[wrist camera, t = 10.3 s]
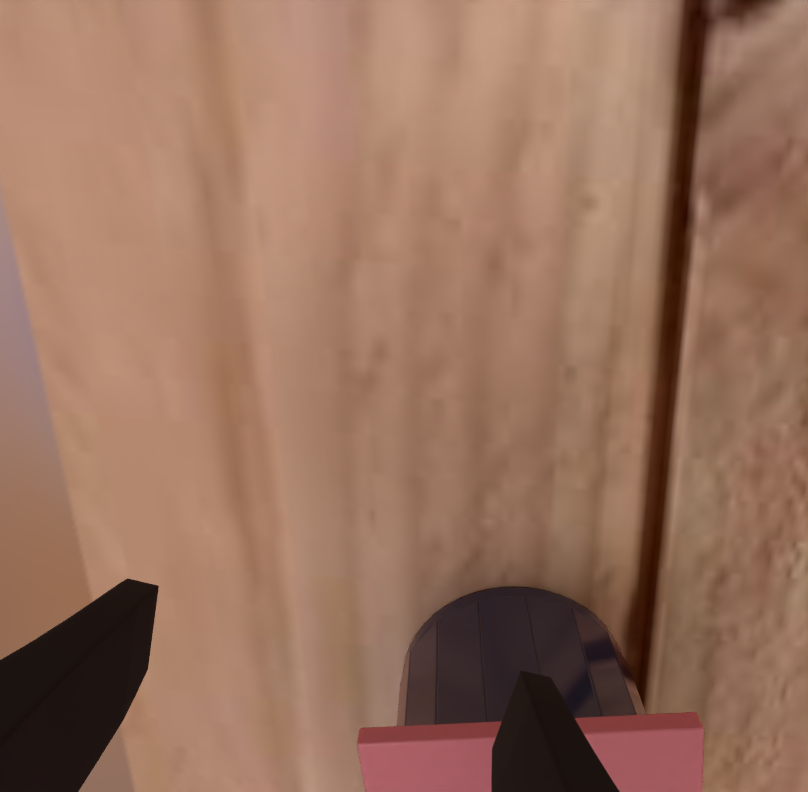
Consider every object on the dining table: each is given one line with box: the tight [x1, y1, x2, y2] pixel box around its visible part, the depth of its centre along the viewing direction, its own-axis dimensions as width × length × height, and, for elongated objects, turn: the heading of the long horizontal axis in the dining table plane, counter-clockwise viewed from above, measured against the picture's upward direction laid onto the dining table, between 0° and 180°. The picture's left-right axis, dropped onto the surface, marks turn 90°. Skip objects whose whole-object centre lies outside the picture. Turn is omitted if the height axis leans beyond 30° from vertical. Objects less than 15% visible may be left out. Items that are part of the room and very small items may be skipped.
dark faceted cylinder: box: [397, 587, 646, 726], centre depth 23 cm, size 8×8×6 cm
